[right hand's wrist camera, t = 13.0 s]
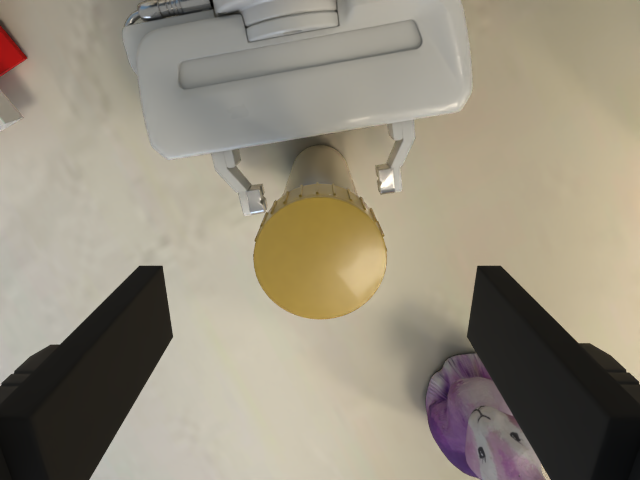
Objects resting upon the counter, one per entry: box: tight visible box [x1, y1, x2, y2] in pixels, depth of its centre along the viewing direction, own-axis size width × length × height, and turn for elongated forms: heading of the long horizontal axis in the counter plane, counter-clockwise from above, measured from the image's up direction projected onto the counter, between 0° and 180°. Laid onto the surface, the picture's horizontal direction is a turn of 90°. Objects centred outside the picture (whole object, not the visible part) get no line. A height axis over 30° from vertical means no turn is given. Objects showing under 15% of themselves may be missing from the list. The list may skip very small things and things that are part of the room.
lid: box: [253, 182, 387, 319], centre depth 18 cm, size 6×6×2 cm
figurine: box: [426, 353, 546, 480], centre depth 35 cm, size 9×10×15 cm
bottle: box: [282, 145, 358, 196], centre depth 26 cm, size 5×5×18 cm
